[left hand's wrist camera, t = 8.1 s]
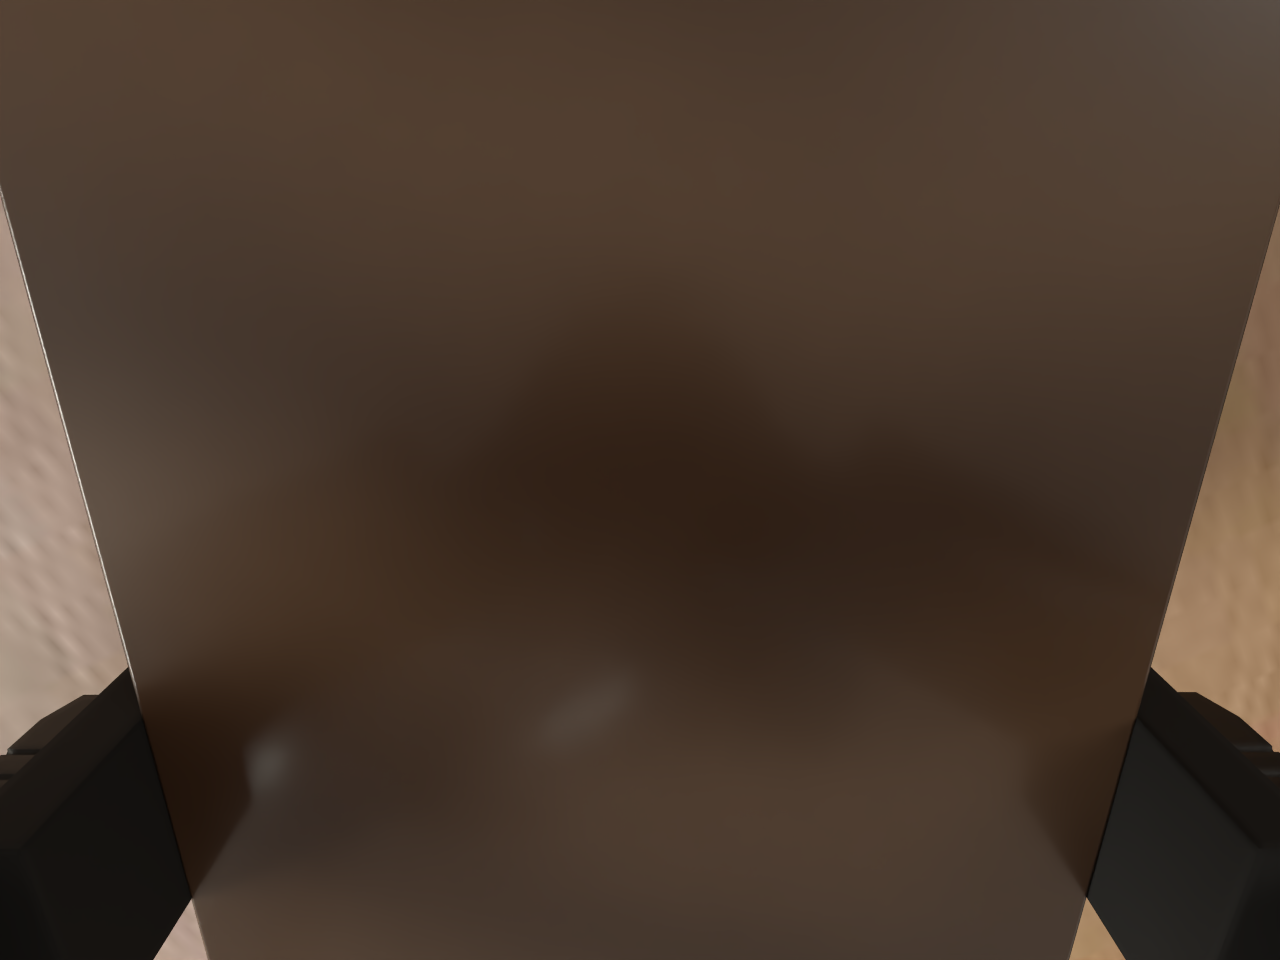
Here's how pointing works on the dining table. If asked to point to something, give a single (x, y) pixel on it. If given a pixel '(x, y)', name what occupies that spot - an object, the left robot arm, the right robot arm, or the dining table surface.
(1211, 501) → the dining table surface
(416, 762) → the cabinet
